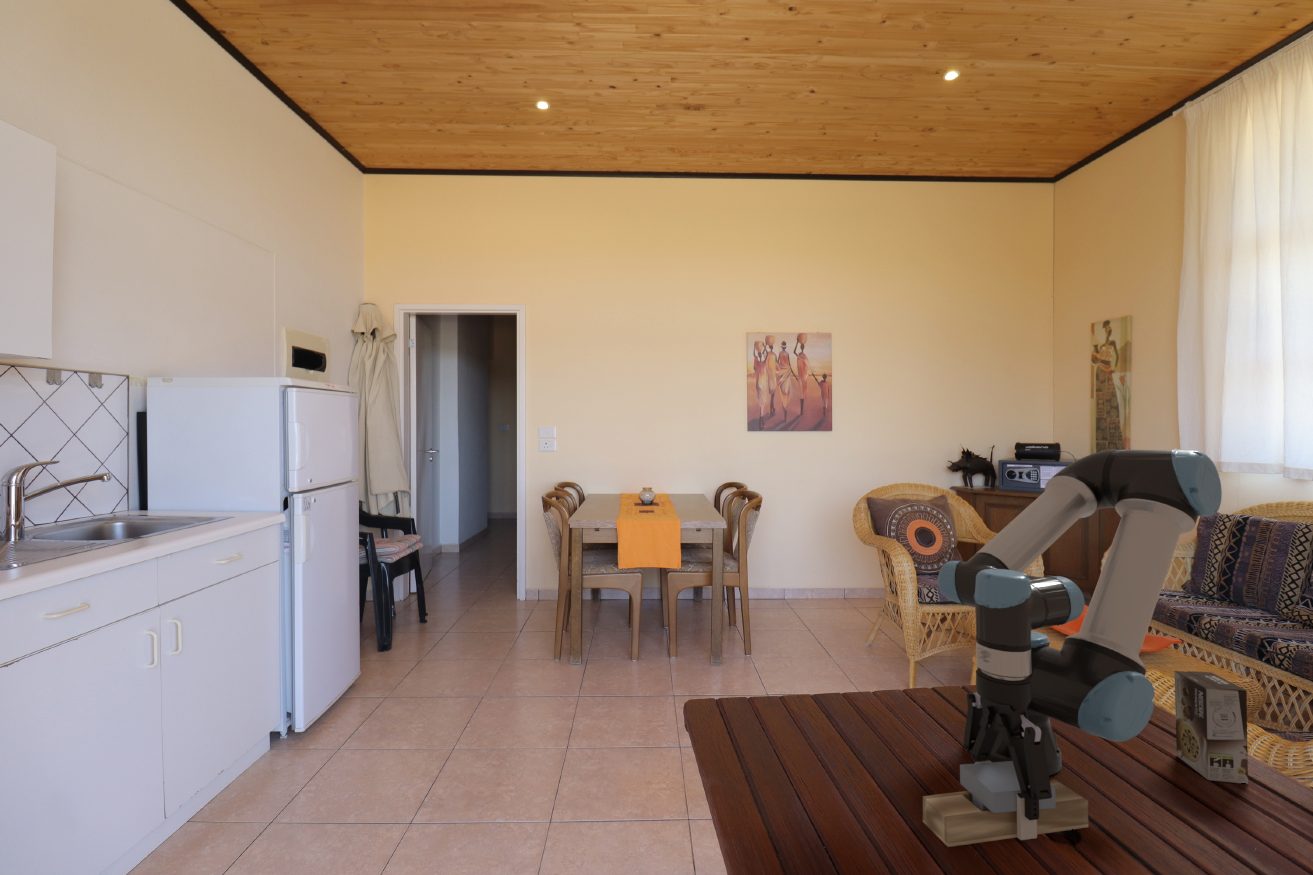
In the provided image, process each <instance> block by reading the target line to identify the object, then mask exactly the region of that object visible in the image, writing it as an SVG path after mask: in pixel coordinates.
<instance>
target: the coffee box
mask: <svg viewBox="0 0 1313 875" xmlns="http://www.w3.org/2000/svg"><path fill="white" fill-rule="evenodd" d="M1247 693H1248V690H1247V689H1245V688H1243V687H1241V686H1239V685H1237V684H1235V683H1233V682H1231V681H1229V680H1227V679H1226V678H1223V677H1221V676H1219V675H1217V674H1216V673H1213V672H1210V671H1181V670H1174V705H1175V707H1174V709H1175V736H1176V737H1175V738H1176V739H1175V741H1176V742H1175V743H1176V757H1178V758H1179V759H1180V760H1181V761H1183V762H1184V763H1185V764H1186V765H1188V766H1189V767H1190V768H1192V769H1193V770H1195V772H1197V773H1198V774H1200V775H1201V776H1202V777H1203V778H1205V779H1206V780H1208V781H1212V782H1213V781H1214V782H1223V783H1224V782H1225V783H1233V784H1241V783H1246V784H1245V785H1248V783H1249V768H1248V767H1249V762H1248V761H1249V758H1248V757H1249V756H1248V755H1249V752H1248V701H1247V700H1248V697H1247V696H1248V695H1247Z"/></svg>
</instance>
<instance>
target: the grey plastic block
mask: <svg viewBox="0 0 1313 875" xmlns="http://www.w3.org/2000/svg"><path fill="white" fill-rule="evenodd" d="M959 783H960V785H961V786H963V787H964V789H966V791H969V792H970V793H971V794H972V798H973V804H974V805H975V806H976V807H977V808H978V809H980V810H981V811H991V812H992V813H1000V812H1012V811H1017V793H1018V792H1021V790H1020V786H1019V782H1018V779H1017V775H1016V772H1015V768H1014V765H1013V761H1005V762H991V763H976V764H974V763H965V764H964V763H963V764H960V765H959ZM1050 786H1051V793H1052V798H1049V799H1041V800H1039V809H1050V808H1056V803H1055V787H1054V786H1052V785H1051V784H1050ZM1029 787H1030V785H1029V786H1028V788H1029Z"/></svg>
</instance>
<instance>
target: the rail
mask: <svg viewBox="0 0 1313 875" xmlns="http://www.w3.org/2000/svg"><path fill="white" fill-rule="evenodd" d="M1050 784H1051V785H1052V786H1054V787H1055V803H1056V808H1050V809H1039V819H1037V835H1043V834H1050V833H1058V832H1064V831H1065V832H1066V831H1072V829H1073V830H1078V829H1086V828H1089V800H1087V799H1086V798H1084V797H1083V796H1081V795H1079V794H1078V793H1077V792H1075V791H1073V789H1071V788H1069V787H1067V786H1066V785H1064V784H1063V783H1061V782H1059V780H1056V779H1054V780H1050ZM922 823H924V825H925V826H926V827H927V828H928V829H929V830H930V831H932V832H933V834H934V835H935V836H936V837H937V838H939V840H941V841H942V842H943V844H944V845H945V846H947V848H951V847H957V846H964V845H972V844H981V843H986V842H994V841H1001V840H1007V839H1009V840H1010V839H1014V838H1018V837H1017V811H1012V812H1000V813H992V812H991V811H981V810H980V809H978V808H977V807H976V806H975V805H974V804H973V798H972V794H971V793H970V792H969V791H968V790H963V791H962V790H961V791H955V792H946V793H939V794H931V795H930V794H929V795H923V796H922Z"/></svg>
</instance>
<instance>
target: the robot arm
mask: <svg viewBox="0 0 1313 875" xmlns="http://www.w3.org/2000/svg"><path fill="white" fill-rule="evenodd" d="M1044 485H1045V486H1044V492H1042V494H1040V495H1039V496H1038V497H1037V498H1036V499H1035V500H1034V501H1033V502H1031V503H1030V504H1029V505H1028V506H1027V507H1026V508H1025V509H1023V510H1022V511H1021V512H1020V513H1019V514H1018V515H1017V516H1015V518H1014V519H1013V520H1011V521H1010V522H1009V523H1008V524H1007V525H1006V526H1005V527H1003V528H1002V529H1001V531H999V532H998V533H997V534H996V535H994V536H993V538H991V539H990V540H989V541H988V542H987V543H986V544H984V546H982V548H980V549H979V550H978V551H977V552H976V553H975V554H974V555H973V556H971V557H970V558H969V559H968V560H967V561H963V560H950V561H946V563H944V564H943V565H942V566H941V568H940V570H939V572H938V574H937V584H938V589H939V591H940V593H941V594H942V596H943V597H944V598H946V599H947V600H949V601H951V602H955V603H957V604H961V606H968V607H972V608H974V609H975V633H976V634H975V665H976V668H977V669H976V670H975V691H976V692H968V693H966V701H967V713H966V718H965V719H966V720H965V721H966V722H965V729H964V736H963V745H962V746H963V749H964V750H965V751H967V752H969V754H970V757H971V759H972V760H973V764H976V763H991V762H1005V761H1013V765H1014V768H1015V772H1016V775H1017V779H1018V782H1019V786H1020V790H1021V792H1018V793H1017V837H1016V838H1018V839H1019V840H1020V841H1026V840H1031V839H1038V834H1037V819H1039V800H1041V799H1049V798H1052V793H1051V786H1050V781H1051V780H1050V776H1052V775H1053V776H1054V775H1055V774H1057V773H1059V772H1060V771H1061V770H1062V762H1063V761H1062V760H1063V759H1062V752H1061V748H1060V747H1059V745H1058V741H1057V737H1056V735H1055V732H1054V730H1053V726H1052V724H1051V721H1050V720H1051V719H1054V720H1055V721H1059V722H1061V723H1064V724H1066V725H1069V726H1071V727H1074V728H1076V729H1078V730H1081V731H1083V732H1084V733H1086V734H1088V735H1090V736H1094V737H1095V736H1096V737H1100V738H1102V739H1105V740H1107V741H1110V742H1115V743H1117V742H1118V743H1121V742H1126V741H1129V740H1131V739H1133V738H1135V737H1137V736H1138V735H1139V734H1141V732H1142V731H1144V729H1145V728H1146V727H1147V724H1148V723H1149V722H1150V719H1151V717H1152V715H1153V712H1154V707H1155V701H1154V698H1155V696H1156V695H1155V694H1156V693H1155V689H1154V686H1153V683H1152V682H1151V681H1150V679H1149V678H1148V677H1146V673H1147V667H1146V666H1145V664H1144V662H1143V661H1142V660H1141V657H1140V656H1139V655H1140V654H1141V650H1142V647H1143V644H1144V642H1145V639H1146V635H1147V633H1148V630H1149V626H1150V624H1151V622H1152V619H1153V614H1154V612H1155V609H1156V605H1157V603H1158V601H1159V597H1160V594H1161V591H1162V589H1163V585H1164V583H1165V579H1166V576H1167V574H1168V570H1169V568H1170V565H1171V562H1172V559H1173V556H1174V553H1175V550H1176V548H1177V544H1178V542H1179V539H1180V536H1181V535H1183V534H1186V533H1189V532H1192V531H1193V530H1194V529H1195V527H1196V524H1197V521H1198V518H1199V517H1202V518H1207V517H1212V516H1214V515H1215V514H1217V512H1218V511H1219V509H1220V507H1221V504H1222V495H1223V492H1222V490H1223V489H1222V484H1221V479H1220V475H1219V471H1218V470H1217V466H1216V465H1215V463H1214V461H1213V460H1212V459H1211V457H1209V455H1207V454H1205V453H1204V452H1202V451H1199V450H1188V449H1178V448H1173V449H1120V448H1119V449H1105V450H1101V451H1097V452H1093V453H1091V454H1089V455H1086V456H1083V457H1081V458H1080V459H1077V460H1075V461H1073V462H1072V463H1071V464H1068V465H1067V466H1065V467H1064V468H1062V469H1061V470H1060V471H1058V472H1056V474H1054V475H1052V477H1050V479H1049V480H1047V481H1046V483H1045V484H1044ZM1111 508H1113V509H1115V512H1117V514H1118V516H1119V517H1120V521H1119V524H1118V527H1117V530H1116V532H1115V534H1114V537H1113V539H1112V542H1111V546H1110V548H1109V551H1108V553H1107V556H1106V559H1105V561H1104V563H1103V566H1102V569H1101V572H1100V575H1099V577H1098V581H1097V584H1096V586H1095V588H1094V592H1093V594H1092V597H1091V599H1090V602H1089V604H1088V607H1087V610H1086V612H1085V615H1084V618H1083V621H1082V623H1081V626H1080V629H1079V632H1077V633H1074V634H1071V635H1068V636H1065V639H1064V642H1063V643H1062V646H1061V649H1058V648H1057V649H1056V648H1054V647H1051V646H1050V644H1051V643H1050V642H1051V641H1050V640H1049V637H1048V636H1047V635H1046V634H1044V633H1042V632H1038V631H1034V630H1037V629H1042V628H1049V627H1054V626H1063V625H1066V624H1068V623H1070V622H1073V621H1076V620H1077V619H1078V618H1080V617H1081V616H1082V614H1083V612H1084V610H1085V604H1086V602H1085V597H1084V594H1083V592H1082V590H1081V589H1080V587H1079V586H1078V584H1076V583H1075V582H1074V581H1072V580H1071V579H1069V578H1067V577H1064V576H1060V575H1056V576H1055V575H1054V576H1053V575H1044V576H1034V575H1030V574H1026V573H1024V571H1026V569H1028V567H1030V566H1031V565H1032V564H1033V563H1034V562H1035V561H1036V560H1037V559H1039V557H1041V555H1042V554H1044V552H1046V551H1047V550H1048V548H1050V547H1051V546H1052V545H1053V544H1054V543H1055V542H1056V541H1057V540H1058V539H1060V538H1061V536H1062V535H1063V534H1065V533H1066V531H1067V530H1069V529H1070V528H1071V527H1072V526H1073V525H1074V524H1075V523H1076V522H1078V520H1079V519H1082V518H1083V519H1085V518H1088V517H1089V516H1090V517H1091V516H1092V515H1093V514H1095V512H1096V511H1097V510H1102V509H1111ZM1050 718H1051V719H1050ZM1029 785H1030V787H1029V788H1028V786H1029Z"/></svg>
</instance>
